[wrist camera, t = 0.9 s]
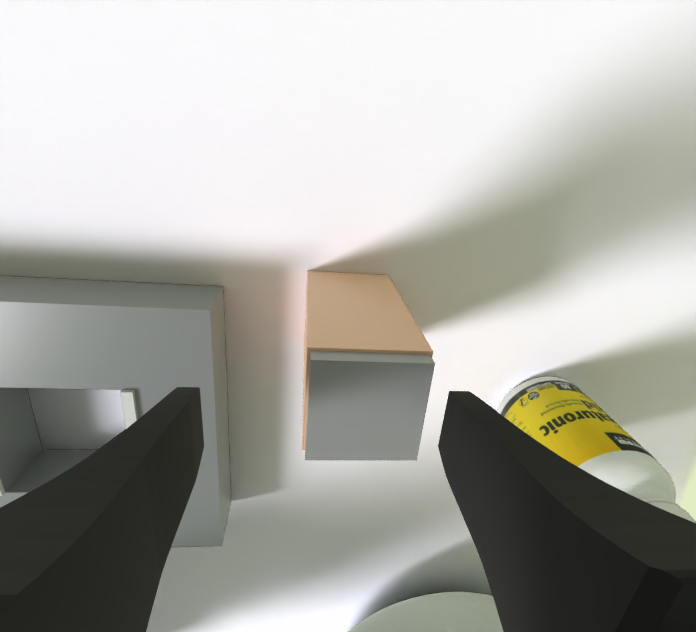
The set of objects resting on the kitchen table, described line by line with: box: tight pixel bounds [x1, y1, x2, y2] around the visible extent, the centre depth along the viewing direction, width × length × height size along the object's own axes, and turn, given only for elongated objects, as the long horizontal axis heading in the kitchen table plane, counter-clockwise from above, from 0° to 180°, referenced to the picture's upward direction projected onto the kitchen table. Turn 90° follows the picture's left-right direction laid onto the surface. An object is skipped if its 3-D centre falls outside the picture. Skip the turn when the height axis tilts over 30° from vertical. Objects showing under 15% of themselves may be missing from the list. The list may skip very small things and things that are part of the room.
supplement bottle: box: [497, 377, 696, 523], centre depth 20 cm, size 5×5×10 cm
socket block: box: [0, 276, 231, 547], centre depth 20 cm, size 14×14×3 cm
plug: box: [302, 271, 435, 460], centre depth 17 cm, size 4×4×9 cm
